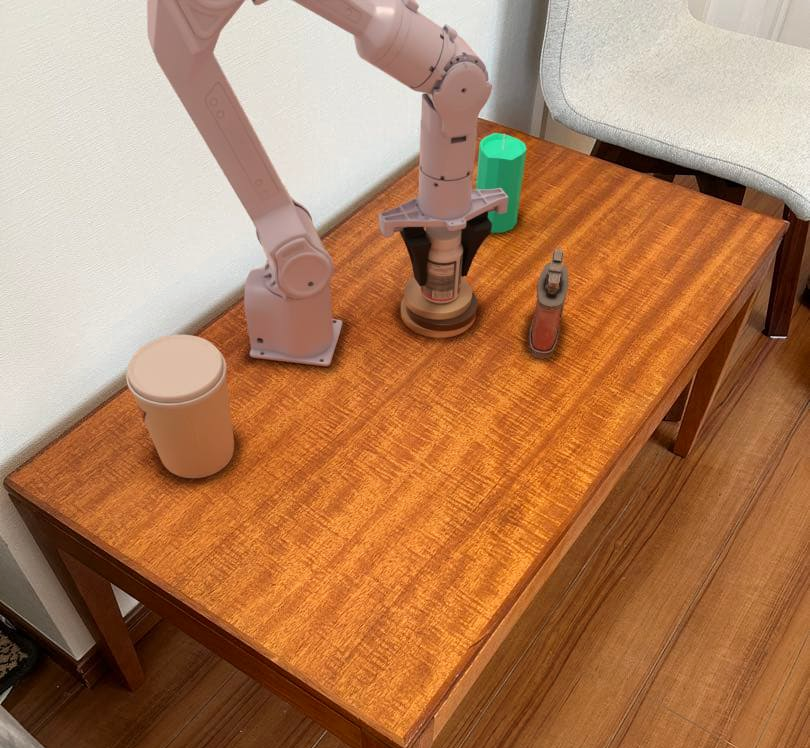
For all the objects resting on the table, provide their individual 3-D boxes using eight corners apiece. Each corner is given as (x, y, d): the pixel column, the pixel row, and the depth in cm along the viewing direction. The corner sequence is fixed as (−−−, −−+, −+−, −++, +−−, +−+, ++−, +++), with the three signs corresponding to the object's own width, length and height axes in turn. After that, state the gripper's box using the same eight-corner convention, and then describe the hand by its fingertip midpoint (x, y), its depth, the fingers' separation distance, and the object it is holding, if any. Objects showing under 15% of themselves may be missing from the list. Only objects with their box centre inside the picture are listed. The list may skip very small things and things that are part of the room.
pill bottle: (436, 274, 103) (439, 212, 96) (467, 290, 101) (473, 228, 94) (412, 293, 101) (413, 231, 94) (443, 309, 99) (447, 247, 92)
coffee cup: (169, 414, 92) (144, 326, 83) (252, 425, 92) (236, 338, 82) (139, 478, 87) (109, 392, 77) (228, 490, 86) (208, 405, 77)
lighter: (554, 360, 99) (569, 288, 91) (525, 355, 99) (537, 284, 91) (560, 316, 103) (575, 244, 95) (533, 312, 104) (545, 241, 96)
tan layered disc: (394, 333, 101) (395, 312, 99) (406, 286, 107) (407, 265, 104) (472, 342, 100) (474, 321, 98) (480, 294, 106) (482, 273, 103)
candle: (466, 211, 117) (473, 125, 107) (507, 204, 118) (517, 118, 108) (482, 236, 113) (490, 149, 104) (523, 228, 114) (535, 142, 105)
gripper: (395, 199, 85) (394, 310, 95) (525, 173, 88) (510, 283, 99) (371, 163, 88) (373, 274, 99) (497, 139, 92) (485, 249, 103)
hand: (440, 276), depth 99 cm, fingers closed on pill bottle, 5 cm apart
